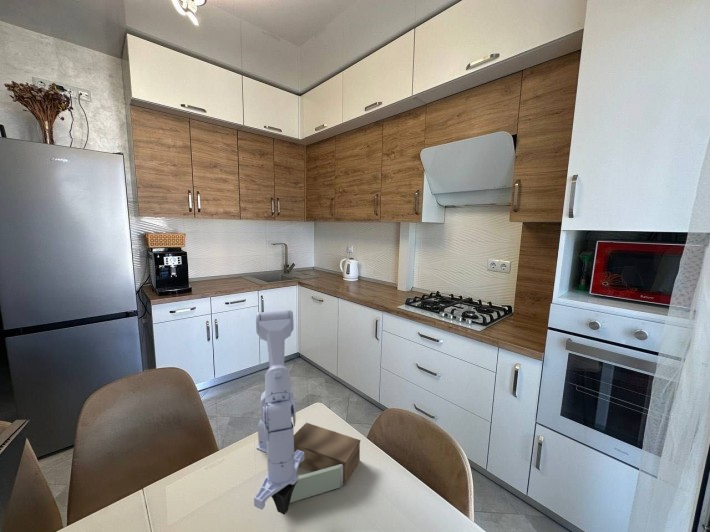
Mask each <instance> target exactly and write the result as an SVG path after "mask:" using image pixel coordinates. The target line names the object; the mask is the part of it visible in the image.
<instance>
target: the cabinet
mask: <svg viewBox="0 0 710 532" xmlns="http://www.w3.org/2000/svg"><path fill="white" fill-rule="evenodd" d="M360 443H361V439H359V438H355V437H352V436H349V435H346V434H342V433H340V432H337V431H334V430H331V429H327V428H324V427H321V426H318V425H314V424H311V423H309V422H305V423H304V424H303V425H302V426H301V427H300V428H299V429H298V430H297V431H296V432H295V433H294V453H295V452H296V451H297V450H300V451H303V452H304V460H303V462H300V464H299V467H301V468H303V469H306V470H308V471H310V472H314V471H318V470H322V469H325V468H329V467H332V466H336V465H339V464H342V465H343V485H345V486H346V484H347V483H348V481H349V479H350V478H351V476H352V474H353V473H354V471H355V470H356V467H357V466H358V465H359V463H360V462H361V461H360V459H361V458H360V457H361V455H360V454H361V451H360V450H361V448H360V447H361V444H360Z"/></svg>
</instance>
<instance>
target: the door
mask: <svg viewBox="0 0 710 532" xmlns="http://www.w3.org/2000/svg"><path fill="white" fill-rule="evenodd" d="M343 487H344V484H343V465H342V464H339V465H336V466H332V467H329V468H325V469H322V470H318V471H314V472H312V471H310V472H308V473H304V474H301V475H298V481H297V483H296V485H295V487H294V490H293V492H292V496H291V500H290V504H291V503H295V502H297V501H300V500H303V499H307V498H309V497H313V496H316V495H320V494H323V493H326V492H330V491H332V490H333V491H334V490H335V489H339V488H343Z"/></svg>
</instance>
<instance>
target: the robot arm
mask: <svg viewBox="0 0 710 532" xmlns="http://www.w3.org/2000/svg"><path fill="white" fill-rule="evenodd" d="M294 322H295V321H294V312H293V310H291V309H287V310H275V311H274V310H273V311H257V313H256V314H255V326H256V328H255V329H256V334H257V336H259V339H260V340H261V341H264V342H266V344H267V353H268V370H266V372H265V374H264V387H265V390H264V391H263V392H262V393H261V395H260V420H259V422H258V424H257V437H258V438H257V439H258V445H257V446H256V449H257V450H259V451H262V452H264V453H266V458H267V461H266V462H267V473H266V475H265V478H264V480H263V482H262V483H261V486H260V488H259V490H258V492H257V493H256V495H255V496H254V497H253V505H254V507H255V508H256V509H259V510H260V511H261V510H264V508H265V506H266V502H267V501H268V499H269V498H272V500H273V503H274V505H275V508H276V510H277V512H278V513H280V514H281V515H286V513H287V512H288V511H289V508H290V504H291V503H290V500H291V496H292V492H293V490H294V487H295V485H296V483H297V481H298V476H299V474H297V472H298V470H299V467H300V466H299V464H300V462H303V460H304V452H303V451H300V450H297V451H296V452H295V453H294V435H295V433H294V427H296V422H297V421H296V419H297V418H296V417H297V416H296V404H295V397H294V390H293V389H292V382H291V381H292V379H291V371H290V369H289V368H287V366H285V349H286V348H285V346H286V345H285V344H286V343H285V340H287V339H288V338H290V337H291V335H292V332H293V331H294V326H295V325H294Z"/></svg>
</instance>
